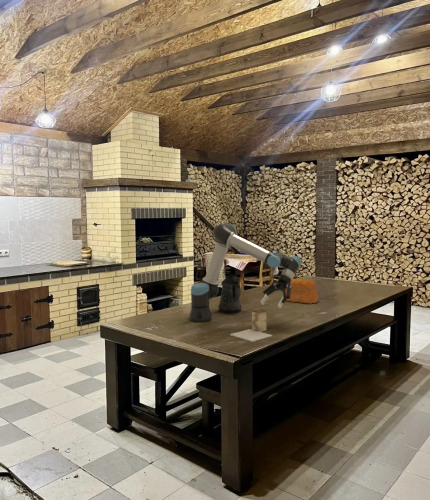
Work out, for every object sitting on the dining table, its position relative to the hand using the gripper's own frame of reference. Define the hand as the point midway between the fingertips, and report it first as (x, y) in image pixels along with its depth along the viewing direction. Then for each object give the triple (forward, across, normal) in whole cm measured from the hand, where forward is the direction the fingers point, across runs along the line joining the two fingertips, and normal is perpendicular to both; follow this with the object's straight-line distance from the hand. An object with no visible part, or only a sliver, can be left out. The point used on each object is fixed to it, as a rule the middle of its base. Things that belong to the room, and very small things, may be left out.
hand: (270, 305), depth 266 cm
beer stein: (0, +48, -20) cm, 52 cm away
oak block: (+16, +1, -3) cm, 17 cm away
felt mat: (+25, -4, +6) cm, 26 cm away
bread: (-44, +36, -64) cm, 86 cm away
